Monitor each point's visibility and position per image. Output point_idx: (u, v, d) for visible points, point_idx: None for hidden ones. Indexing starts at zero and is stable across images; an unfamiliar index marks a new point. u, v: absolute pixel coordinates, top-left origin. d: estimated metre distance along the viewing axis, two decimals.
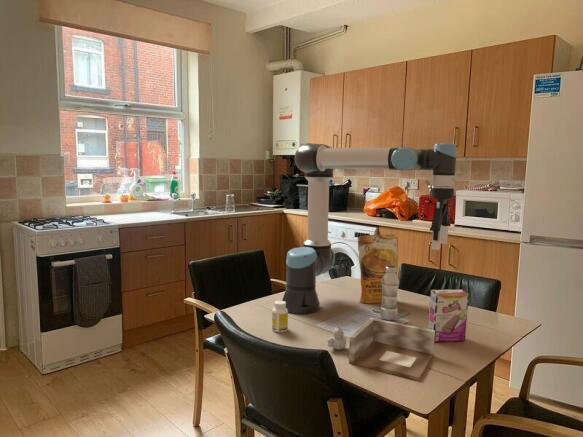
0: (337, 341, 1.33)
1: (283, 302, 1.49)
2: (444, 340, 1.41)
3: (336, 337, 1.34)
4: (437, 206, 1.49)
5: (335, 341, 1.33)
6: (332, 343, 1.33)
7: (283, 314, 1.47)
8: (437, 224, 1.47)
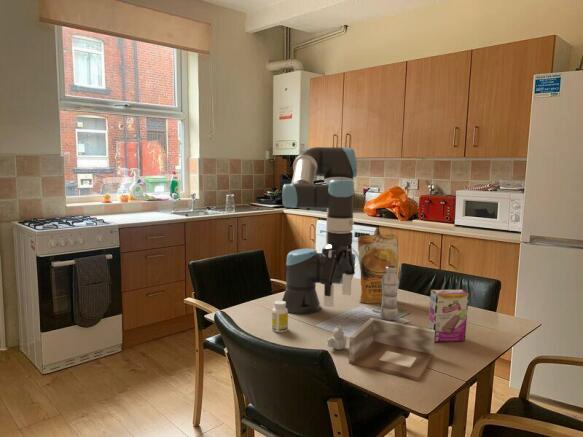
0: (337, 341, 1.33)
1: (283, 302, 1.49)
2: (444, 340, 1.41)
3: (336, 337, 1.34)
4: (329, 255, 1.25)
5: (335, 341, 1.33)
6: (332, 343, 1.33)
7: (283, 314, 1.47)
8: (327, 277, 1.23)
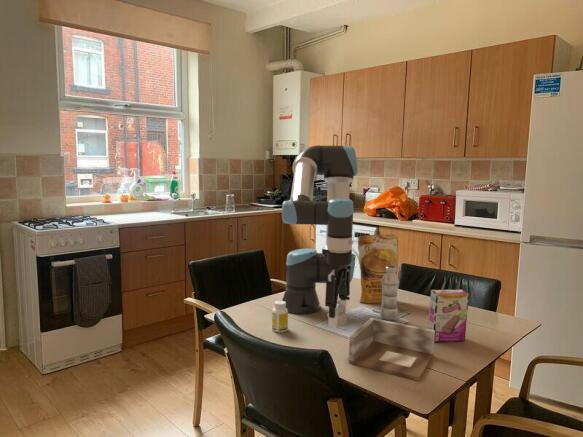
0: None
1: (283, 302, 1.49)
2: (444, 340, 1.41)
3: None
4: (329, 280, 1.27)
5: None
6: None
7: (283, 314, 1.47)
8: (331, 301, 1.27)
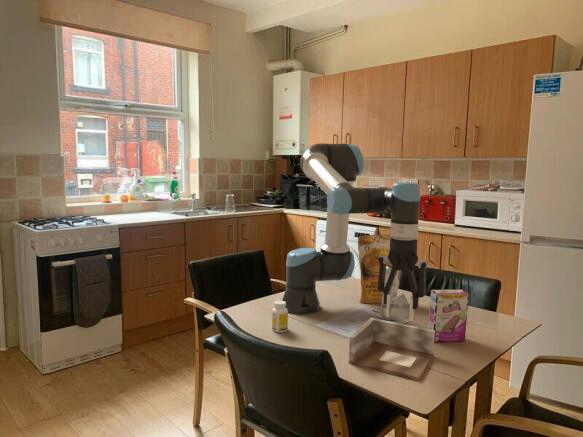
0: (393, 307, 1.25)
1: (283, 302, 1.49)
2: (444, 340, 1.41)
3: None
4: None
5: None
6: None
7: (283, 314, 1.47)
8: None
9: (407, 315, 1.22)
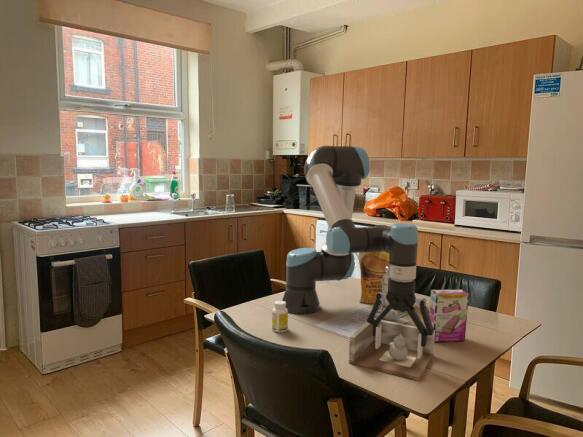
0: (391, 347, 1.26)
1: (283, 302, 1.49)
2: (444, 340, 1.41)
3: None
4: None
5: None
6: (391, 348, 1.28)
7: (283, 314, 1.47)
8: (369, 316, 1.29)
9: (404, 356, 1.24)
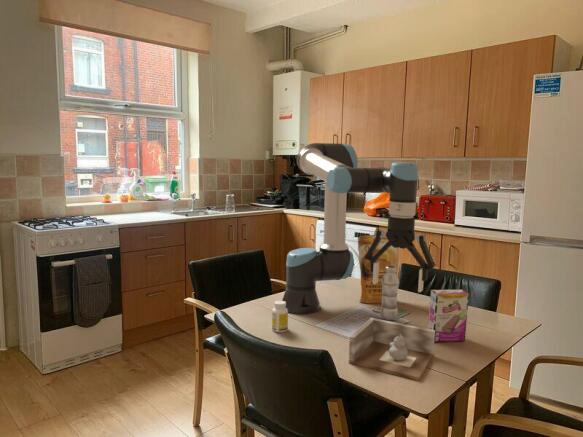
0: (391, 347, 1.26)
1: (283, 302, 1.49)
2: (444, 340, 1.41)
3: None
4: None
5: None
6: (391, 348, 1.28)
7: (283, 314, 1.47)
8: None
9: (404, 356, 1.24)
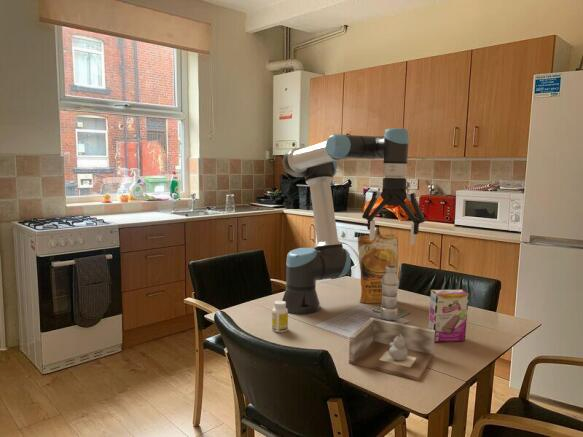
0: (391, 347, 1.26)
1: (283, 302, 1.49)
2: (444, 340, 1.41)
3: None
4: None
5: None
6: (391, 348, 1.28)
7: (283, 314, 1.47)
8: None
9: (404, 356, 1.24)
